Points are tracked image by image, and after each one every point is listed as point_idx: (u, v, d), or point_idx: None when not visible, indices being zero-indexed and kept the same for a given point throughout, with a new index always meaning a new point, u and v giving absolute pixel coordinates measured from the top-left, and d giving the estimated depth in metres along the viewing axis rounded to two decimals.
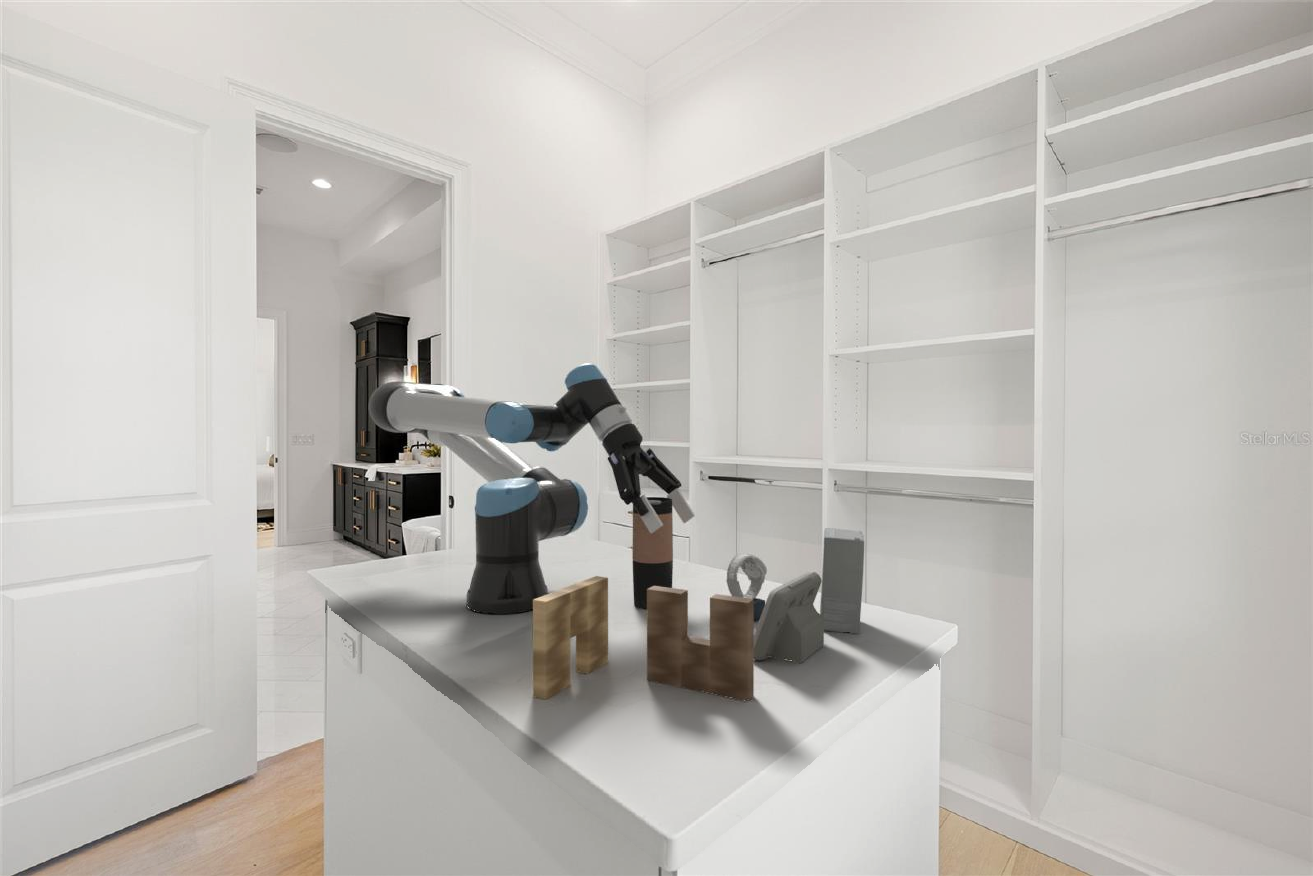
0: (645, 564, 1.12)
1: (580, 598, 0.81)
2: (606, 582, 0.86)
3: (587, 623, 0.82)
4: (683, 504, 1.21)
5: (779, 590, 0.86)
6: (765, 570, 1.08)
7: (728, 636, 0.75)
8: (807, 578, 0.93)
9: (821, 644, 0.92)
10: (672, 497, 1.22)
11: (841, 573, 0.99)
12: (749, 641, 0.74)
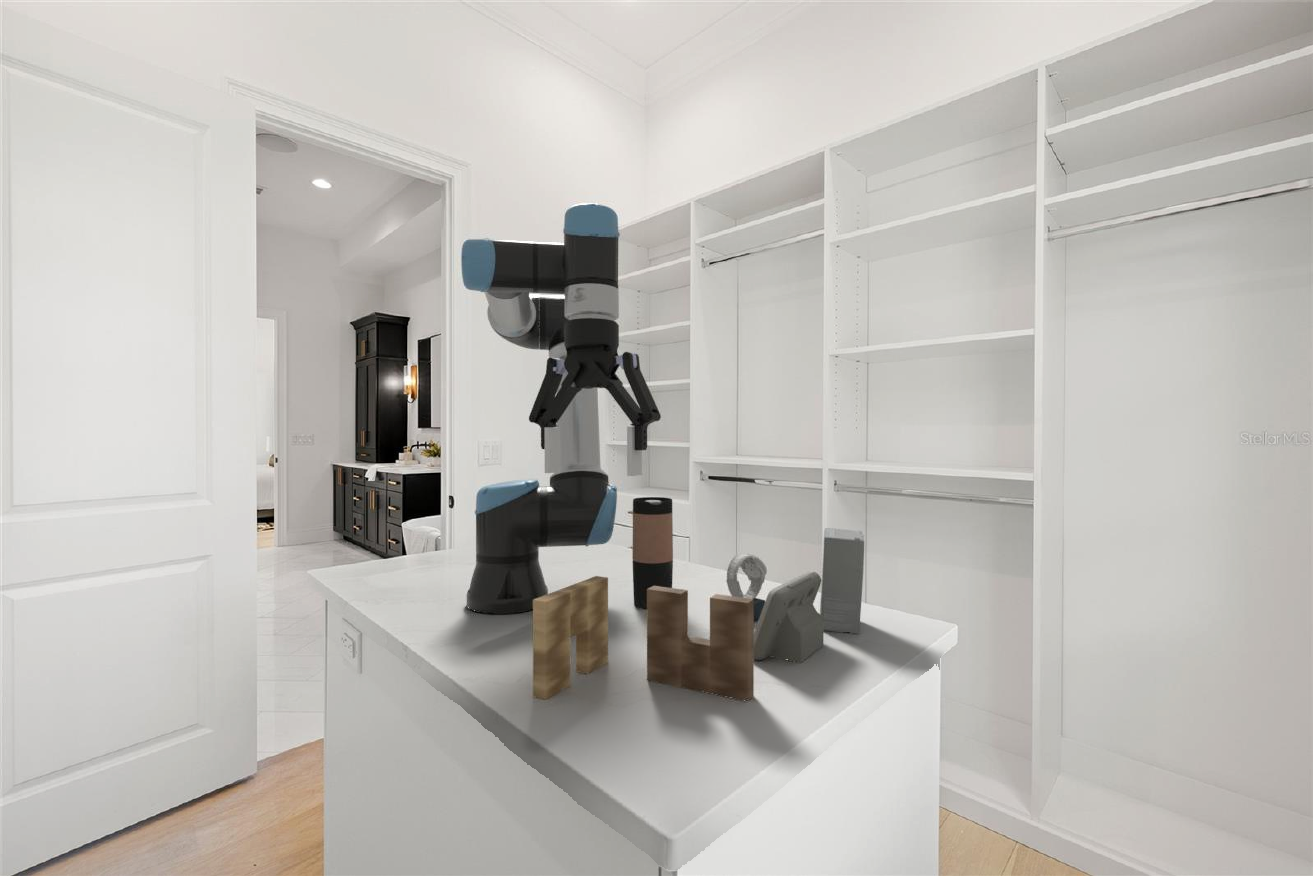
0: (645, 564, 1.12)
1: (580, 598, 0.81)
2: (606, 582, 0.86)
3: (587, 623, 0.82)
4: None
5: (778, 589, 0.86)
6: (765, 570, 1.08)
7: (728, 636, 0.75)
8: (807, 577, 0.93)
9: (821, 644, 0.92)
10: None
11: (841, 573, 0.99)
12: (749, 641, 0.74)
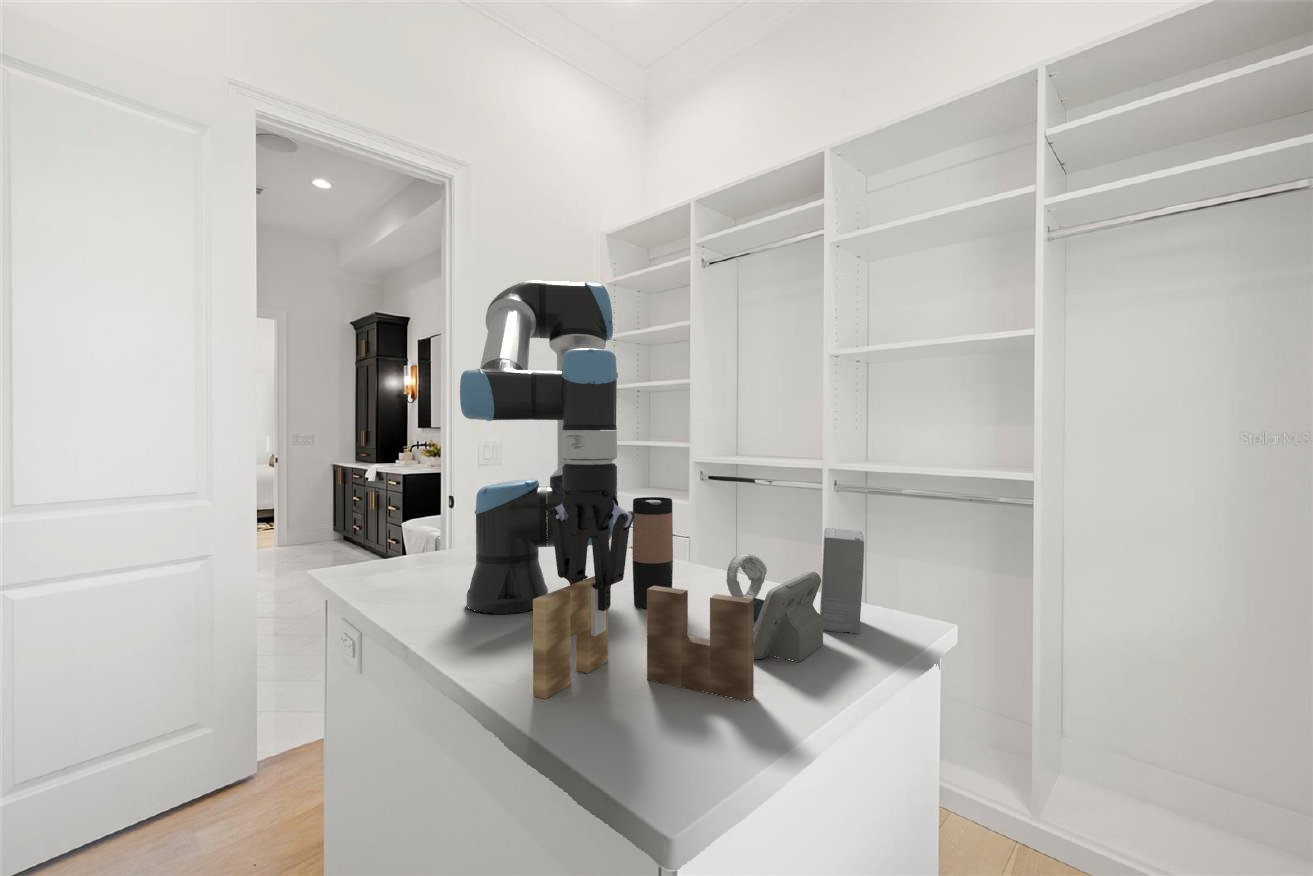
0: (645, 564, 1.12)
1: (580, 597, 0.81)
2: None
3: (587, 622, 0.82)
4: None
5: (777, 589, 0.86)
6: (765, 570, 1.08)
7: (728, 636, 0.75)
8: (806, 577, 0.93)
9: (820, 643, 0.93)
10: None
11: (841, 573, 0.99)
12: (749, 641, 0.74)
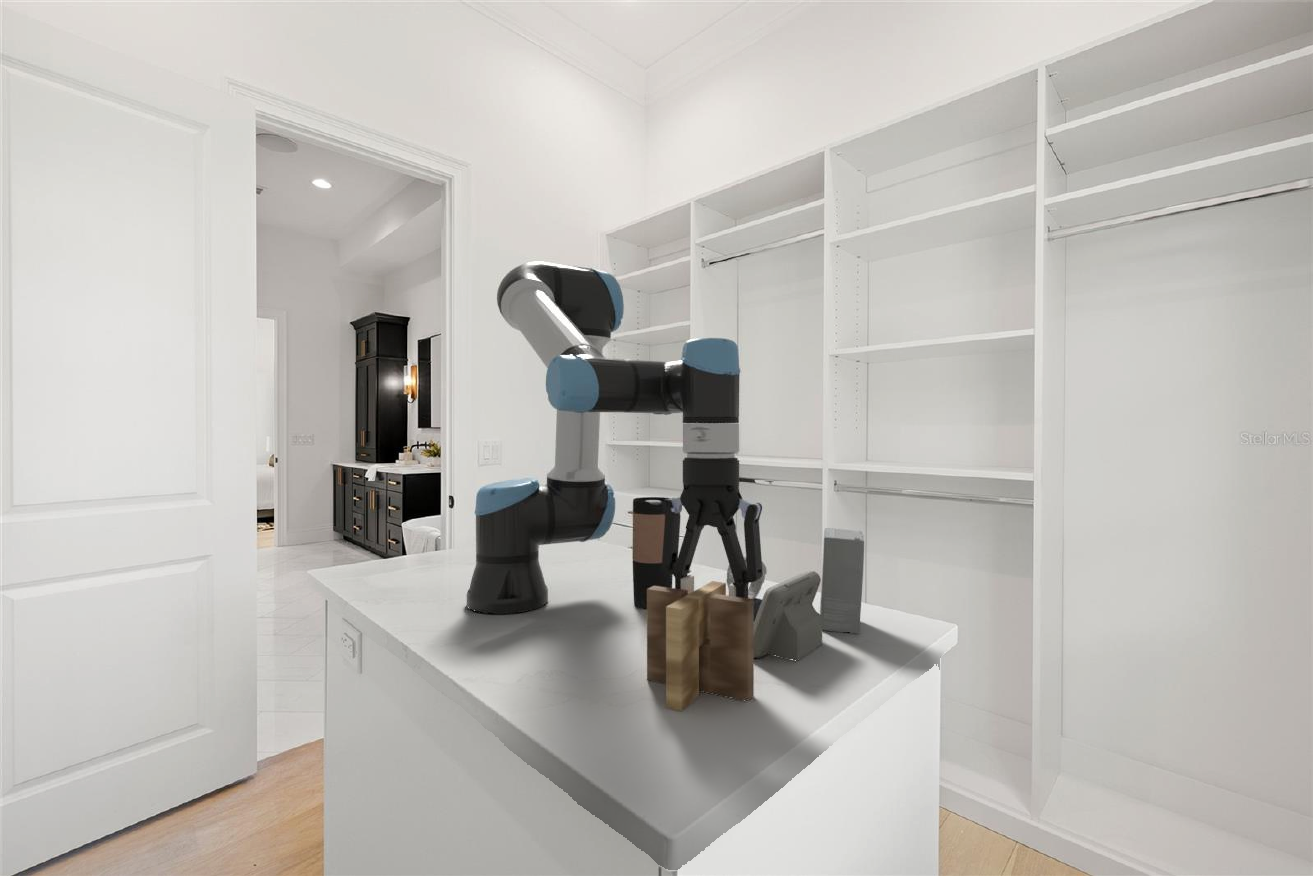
0: (645, 564, 1.12)
1: (706, 605, 0.78)
2: (724, 587, 0.83)
3: None
4: None
5: (775, 588, 0.87)
6: (765, 570, 1.08)
7: (728, 636, 0.75)
8: (806, 577, 0.94)
9: (819, 643, 0.93)
10: None
11: (841, 573, 0.99)
12: (749, 641, 0.74)
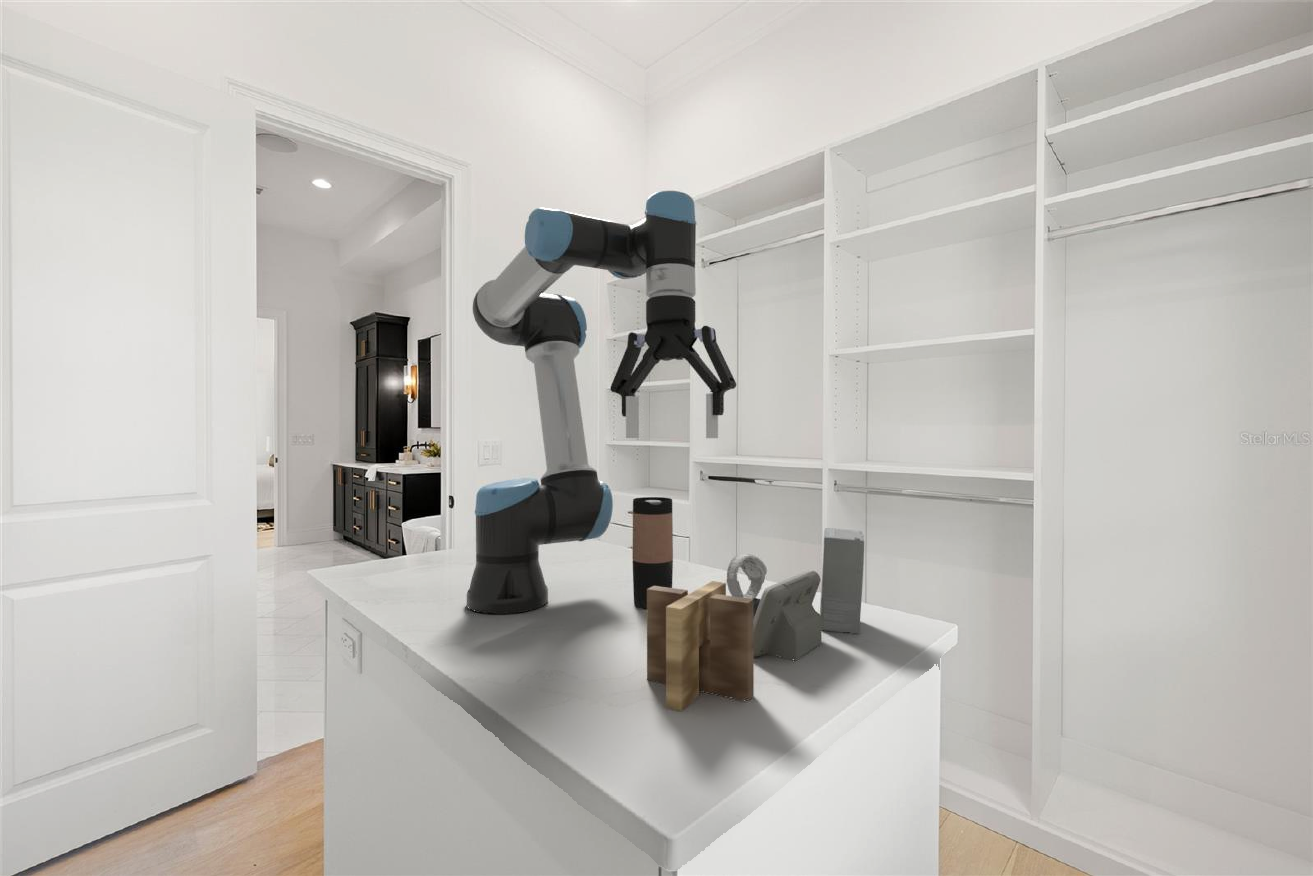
0: (645, 564, 1.12)
1: (706, 605, 0.78)
2: (724, 587, 0.83)
3: None
4: None
5: (773, 587, 0.87)
6: (765, 570, 1.08)
7: (728, 636, 0.75)
8: (805, 576, 0.94)
9: (818, 642, 0.93)
10: None
11: (841, 573, 0.99)
12: (749, 641, 0.74)
